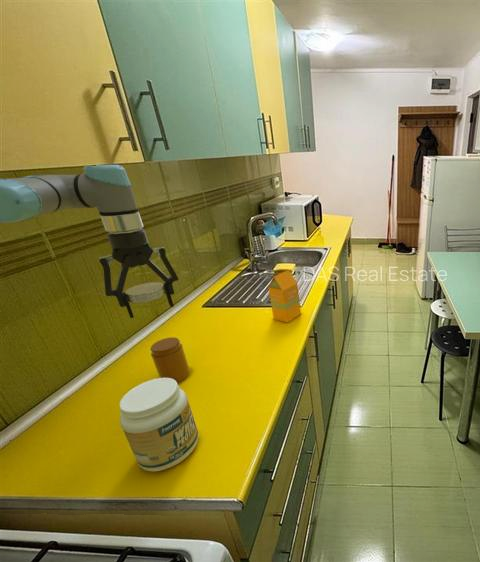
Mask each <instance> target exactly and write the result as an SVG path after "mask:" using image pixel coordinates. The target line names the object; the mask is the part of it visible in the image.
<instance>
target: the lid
mask: <svg viewBox="0 0 480 562" xmlns="http://www.w3.org/2000/svg"><path fill="white" fill-rule="evenodd" d="M163 283H164V282H159V281H158V282H157V281H153V282H144V283H140V284H136V285H133V286H131V287H129V288H127V289H126V290H125V291H124V292H125V294H126V297H127V299H128V302H129V303H131V304H132V303H133V304H140V303H147V302H151V301H154V300H157V299H160V298H162V297H163V296H166V290H165V287H164V284H163Z"/></svg>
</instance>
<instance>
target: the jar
mask: <svg viewBox="0 0 480 562" xmlns="http://www.w3.org/2000/svg"><path fill="white" fill-rule="evenodd" d="M149 349H150V352H151V353H150V356H151V359H152V361H153V364H154V367H155V370H156V372H157V375H158V378H172V379H174V380H175V381H176V382H177V384H179V383H181V382H183V381H184V380H185V379H187V378H188V377H190V375H191V369H190V365H189V362H188V359H187V355H186V352H185V349H184V346H183V344H182V343H181V341H180V339H179V338H178V337H174V336H173V337H171V336H169V337H165V338H161V339H158V340H157V341H155V342H154V343H152V345H151V346H150V348H149Z"/></svg>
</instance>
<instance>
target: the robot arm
mask: <svg viewBox="0 0 480 562" xmlns="http://www.w3.org/2000/svg"><path fill="white" fill-rule="evenodd" d="M95 165H96V166H86V165H84V166H83V173H82V174H81V173H80V174H34V175H26V176H23V177H13V178H0V223H2V224H8V223H9V224H10V223H18V222H25V221H29V220H31V219H34V218H39V217H42V216H46V215H49V214H54V213H58V212H62V211H66V210H72V209H73V210H75V209H91V208H93V209H95V208H97V211H98V213H99V216H100V219H101V222H102V225H103V228H104V231H106V232H107V239H108V241H109V245H110V247H111V251H112V252H111V254H109V255H106V256H103V255H100V256H99V258H98V260H99V263H100V265H101V267H102V270H103V271H102V272H103V283H104V292H105V296H106V297H116V299H117V302H118V305H119V306H120V308H124V307H126V310H127V313H128V315H129V318H130V319H133V318H134V313H133V310H132V307H131V305H130V302H129V301H128V299H127V297H126V294H125V291H124V287H125V285H126V280H127V276H128V272H129V269H130V268H135V267H139V266H145V265H146V266H147V267H148V268H150V269H151V271H153V272H154V273H155V274H156V275H157V276H158V277H159V278H160V279H161V280H162V281H163V282H162V283H163V284H164V287H165V290H166V293H165V296H166V299H167V303H168V305H169V307H170V308H173V307H174V302H173V298H172V296H171V295H174V294H175V290H174V286H173V283H174V282H177V281H178V280H179V277H178V275H177V273H176V272H175V270H174V267H173V266H172V264H171V262H170V260H169V259H168V257H167V254H166V249H165V248H164V246H162V245H161V246H158V247H152V246H150V243H149V240H148V238H147V237H148V236H147V234H146V230H144V229H143V228H144V224H143V221H142V217H141V214H140V212H139V208H138V204H137V202H136V198H135V195H134V192H133V188H132V183H131V181H130V179H129V176H128V174H127V171H126V169H125V167H124V166H122V165H120V164H95ZM153 253H155V255H156V256H157V257H158V256H159V258H160V260H161V262H162V263H163V265H164V266H165V268H166V270H167V272H168V274H169V275H170V276H169V277H168V276H167V275H166V274H165V273H164V272H163V271H162V270H161V269H160V268H159V267H158V265H156V264H155V263H154V262H153V261H152V260H151V257H152V255H153ZM113 260H115V261H116V262H118V263H120V270H119V274H118V277H117V281H116V285H115V289H113V287H112V277H111V266H110V265H112V264H113ZM123 291H124V292H123Z"/></svg>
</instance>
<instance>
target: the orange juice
mask: <svg viewBox="0 0 480 562" xmlns="http://www.w3.org/2000/svg"><path fill="white" fill-rule="evenodd" d="M298 286H299V285H298V282H297V280H296V279H295V277H294V276H293V275H292V273H291V271H290V270H289V268H288V269H286V270H284V271H282V272H280V273H277V274H276V275H274V276H273V277H272V279H271V281H270V284H269V286H268V293H269V297H270V298H269V299H270V305H271V306H270V307H271V311H272V318H273V320H276V321H280V322H283V323H285V324H287V323H290V322H291V321H293V320H294V319H295V318H297V317H299V316H300V315H301V314H302V310H301V303H300V294H299V287H298Z"/></svg>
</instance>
